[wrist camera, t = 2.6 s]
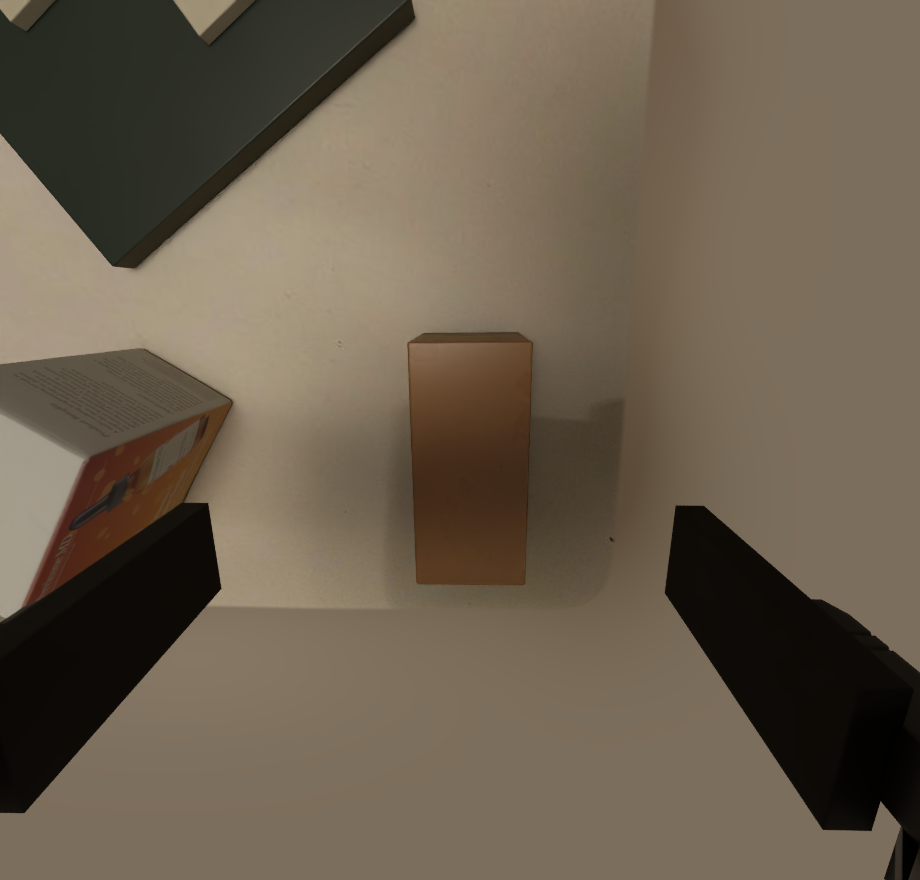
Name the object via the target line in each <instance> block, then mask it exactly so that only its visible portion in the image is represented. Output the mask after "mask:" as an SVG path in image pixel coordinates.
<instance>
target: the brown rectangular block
mask: <svg viewBox="0 0 920 880" xmlns="http://www.w3.org/2000/svg"><path fill="white" fill-rule="evenodd" d="M532 350H533V343H532V341H530V340H529V339H527V338H526V337H524V336H523V335H521V334H520V333H518V332H499V333H423V334H421V335H420V336H418V337H416V338H415V339H413V340H411V341H410V342H408V371H409V398H410V424H411V451H412V478H413V505H414V532H415V558H416V582H417V584H450V585H524V584H525V571H526V539H527V508H528V476H529V445H530V413H531V382H532Z"/></svg>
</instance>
